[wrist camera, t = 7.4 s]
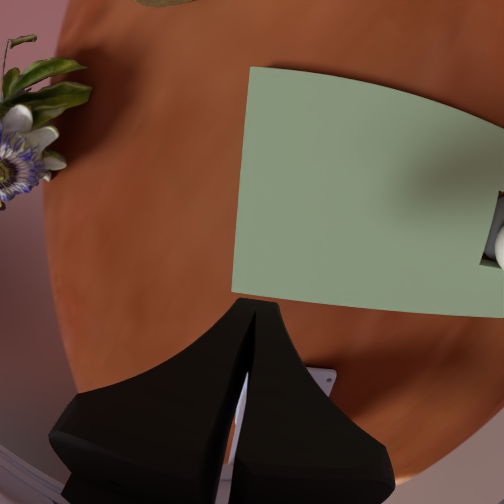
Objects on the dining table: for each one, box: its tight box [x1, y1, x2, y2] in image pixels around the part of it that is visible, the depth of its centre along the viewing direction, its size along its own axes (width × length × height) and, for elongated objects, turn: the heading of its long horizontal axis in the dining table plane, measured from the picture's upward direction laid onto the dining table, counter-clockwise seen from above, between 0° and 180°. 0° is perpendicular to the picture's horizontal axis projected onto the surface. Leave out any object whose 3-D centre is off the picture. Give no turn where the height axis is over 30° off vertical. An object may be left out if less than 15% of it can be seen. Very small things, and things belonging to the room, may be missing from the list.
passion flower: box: [0, 34, 93, 211], centre depth 15 cm, size 11×11×12 cm
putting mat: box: [232, 67, 504, 318], centre depth 17 cm, size 14×26×2 cm, turn 85°
